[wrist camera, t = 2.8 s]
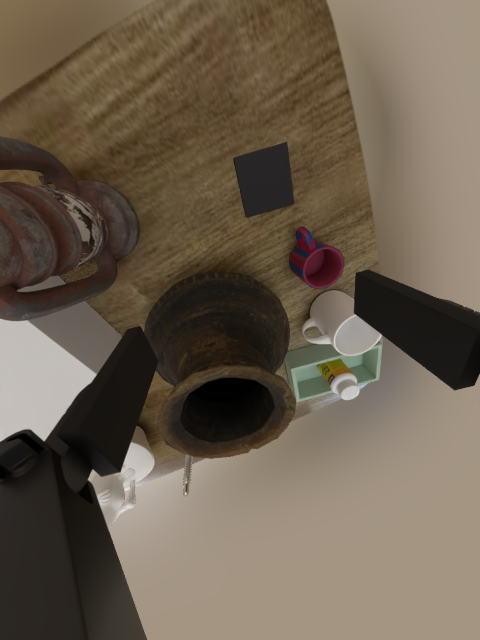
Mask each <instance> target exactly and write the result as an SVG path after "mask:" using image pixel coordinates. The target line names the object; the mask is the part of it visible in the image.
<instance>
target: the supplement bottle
mask: <svg viewBox="0 0 480 640" xmlns="http://www.w3.org/2000/svg"><path fill="white" fill-rule="evenodd" d="M317 367H318V369H319V371H320V372H321V374H322V376H323V377H324V379H325V380H326V382H327V383H328V385H329V387H330V388H331V390H332V391H333V392H334V393H336V394H339V395H340V396H341V398H342V399H344V400H350V399H353V398H355V397H356V396H357V395H358V394H359V392H360V388H359V387H358V386H357V378H356V377H355V375H354V374H353V373H352V372H351V371H350V369H349V368H348V367H347V366H346V365H345V363H344V362H343V361H342V360H341V358H340V359H336V360H332V361H329V362H325V363H321V364H318V365H317Z"/></svg>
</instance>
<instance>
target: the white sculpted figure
mask: <svg viewBox="0 0 480 640" xmlns="http://www.w3.org/2000/svg"><path fill="white" fill-rule="evenodd" d="M153 467H154V456H153V454H152V451H151V449H150V446H149V444H148V441H147V439H146V436H145V433H144V431H143V429H142V428H140V427H139V426H136V429H135V432H134V435H133V438H132V440H131V443H130V446H129V449H128V452H127V455H126V458H125V461H124V464H123V467H122V470H121V472H120V473H116V474H111V475H107V476H103V477H101V476H100V475H98V474H97V473H96V472H95V471H94V470H92V472H91V474H90V476H89V478H88V480H89V481H90V482H91V483H92V484H93V487H94V490H95V492H96V495H97V498H98V501H99V504H100V507H101V510H102V512H103V515H104V518H105V521H106V524H107V527H108V530H109V531H110V529H111V526H112V524H113V523H114V521H115V520H116V518H117V517H118V516H119V515H120V514H121V513H122V512H123V511H125V510H127V509H130V508H133V507H134V505H135V502H136V496H135V483H137V482H138V481H140V480H141V479H143V478H144V477H145V476H146V475H148V474H149V472H150V471H151V470H152V469H153ZM129 486H130V491H129V497H128V499H127V501H126V502H125V503H124V500H125V492H124V488H127V487H129Z"/></svg>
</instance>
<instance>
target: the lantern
mask: <svg viewBox="0 0 480 640" xmlns="http://www.w3.org/2000/svg"><path fill="white" fill-rule="evenodd" d="M12 169H19V170H31V171H37V172H41V174H42V175H43V176H44V177H43V176H39V180H40V181H41V182H42V183H43V185H45V184H46V186H47V187H46V186H33V185H27V184H24V183H18V182H3V183H0V319H3V320H8V321H26V320H31V319H35V318H39V317H43V316H47V315H50V314H53V313H56V312H58V311H61V310H64V309H66V308H69V307H71V306H73V305H76V304H78V303H81V302H83V301H85V300H88V299H90V298H92V297H95V296H97V295H99V294H100V293H102V292H104V291H105V290H107V289H108V288H109V287H110V286H111V285H112V284H113V282H114V281H115V279H116V276H117V266H116V261H115V259H118V258H121V257H124V256H125V255H127V254H128V253H130V252H131V251H132V250H133V248H134V247H135V245H136V243H137V241H138V237H139V223H138V219H137V216H136V213H135V211H134V210H133V208H132V206H131V205H130V203H129V202H128V200H127V199H126V198H125V197H124V196H123V195H122V194H121V193H120V192H118V191H117V190H115V189H114V188H113V187H111V186H109V185H107V184H104V183H101V182H98V181H92V180H80V181H76V180H75V179H74V177H73V176H72V174H71V173H70V172H69V171H68V169H67V168H66V167H65V166H64V165H63V164H62V163H61V162H60V161H59V160H58V159H57V158H56V157H54V156H53V155H52V154H50V153H49V152H47V151H45V150H43V149H40V148H38V147H36V146H34V145H32V144H29V143H26V142H23V141H19V140H15V139H10V138H5V137H0V170H12ZM42 179H43V180H44V182H43V180H42ZM52 182H53V183H54V185H55V186H56V187H57V189H53V188H50V187H49V185H48V184H51V183H52ZM39 187H40V189H39ZM44 189H47V190H48V191H46V192H44V191H42V190H44ZM55 191H57V193H54V192H55ZM48 193H52V195H50V194H48ZM53 194H54V195H55V196H53ZM81 255H83V256H85V257H88V258H87V259H86V258H85V259H84V258H83V259H80V258H81ZM92 259H96V261H97V264H98V272H96V273H95V274H94V275H92V276H90V277H87V278H84V279H81V280H78V281H74V282H71V283H67V284H63V285H59V286H55V287H51V288H47V289H42V290H37V291H30V292H18V291H17V290H19V289H21V288H24V287H28V286H34V285H36V284H39V283H42V282H43V281H45V280H46V279H48V278H49V277H50V276H58V275H62V274H65V273H67V272H69V271H70V270H72V269H73V268H74V267H78V266H81V265H83V264H85V263H86V262H88V261H89V262H92ZM79 261H81V262H83V263H81V262H79ZM78 263H79V264H78ZM77 264H78V265H77Z"/></svg>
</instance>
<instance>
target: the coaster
mask: <svg viewBox="0 0 480 640" xmlns="http://www.w3.org/2000/svg"><path fill="white" fill-rule="evenodd" d="M233 160H234V164H235V169H236V173H237V178H238V182H239V187H240V192H241V196H242V201H243V205H244V210H245V215H246V217H250V216H253V215H257V214H260V213H263V212H267V211H270V210H274V209H277V208H281V207H284V206H287V205H291V204H294V199H293V190H292V181H291V172H290V164H289V155H288V146H287V142H285V143H282V144H279V145H275V146H272V147H269V148H265V149H262V150H259V151H255V152H252V153H249V154H245V155H242V156H239V157H235V158H233Z"/></svg>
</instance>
